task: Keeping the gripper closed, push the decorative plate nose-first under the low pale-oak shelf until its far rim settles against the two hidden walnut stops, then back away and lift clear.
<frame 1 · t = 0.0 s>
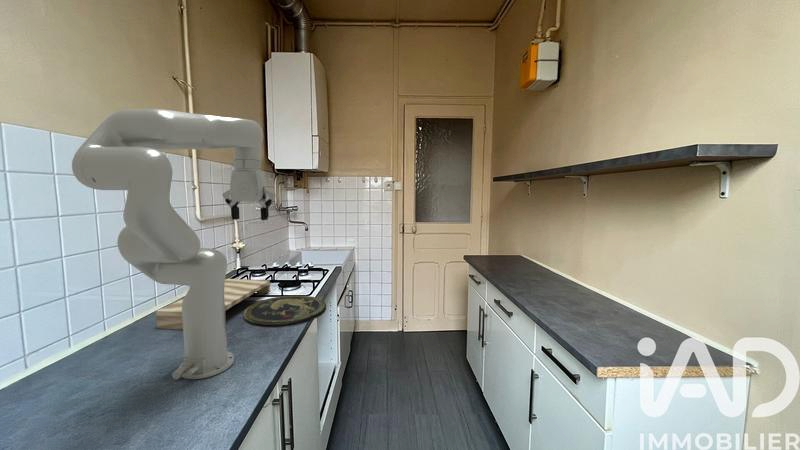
hand: (250, 219, 105), 37 cm above the countertop, tool pointing down, fingers open, 9 cm apart
decorative plate: (286, 312, 125), on the countertop
low shelf: (222, 308, 127), on the countertop
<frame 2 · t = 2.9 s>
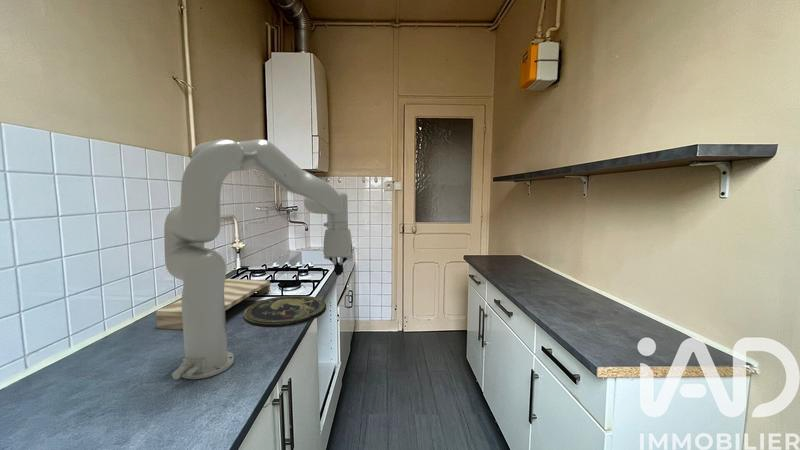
hand: (338, 274, 122), 15 cm above the countertop, tool pointing down, fingers closed
nothing on the countertop moved.
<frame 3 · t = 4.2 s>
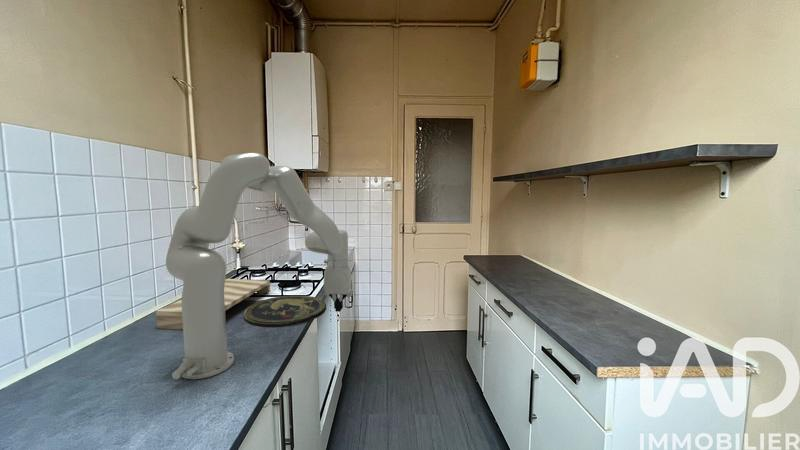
hand: (338, 310, 123), 1 cm above the countertop, tool pointing down, fingers closed
nothing on the countertop moved.
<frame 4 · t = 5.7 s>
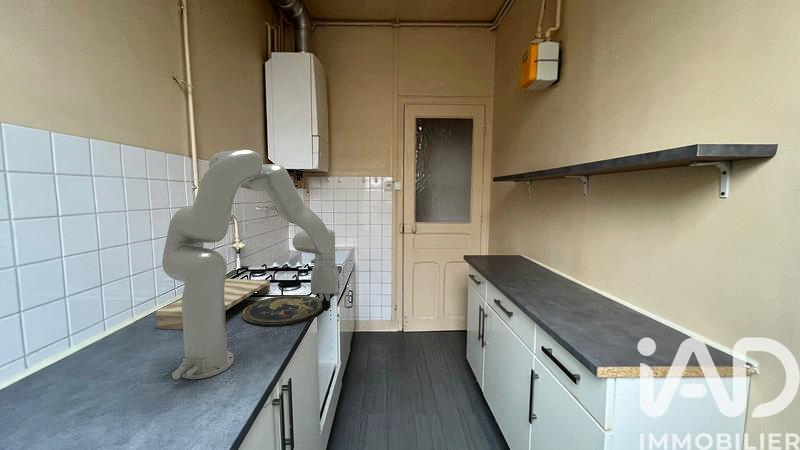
hand: (326, 309, 124), 1 cm above the countertop, tool pointing down, fingers closed
nothing on the countertop moved.
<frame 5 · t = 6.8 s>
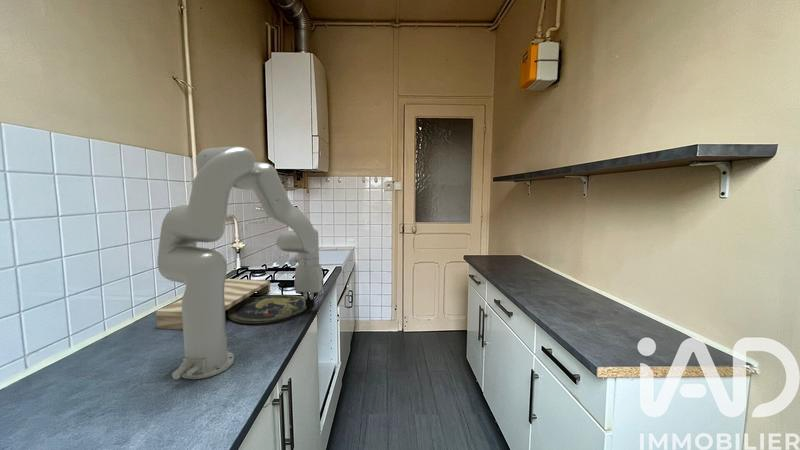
hand: (310, 308, 125), 1 cm above the countertop, tool pointing down, fingers closed
decorative plate: (270, 311, 126), on the countertop
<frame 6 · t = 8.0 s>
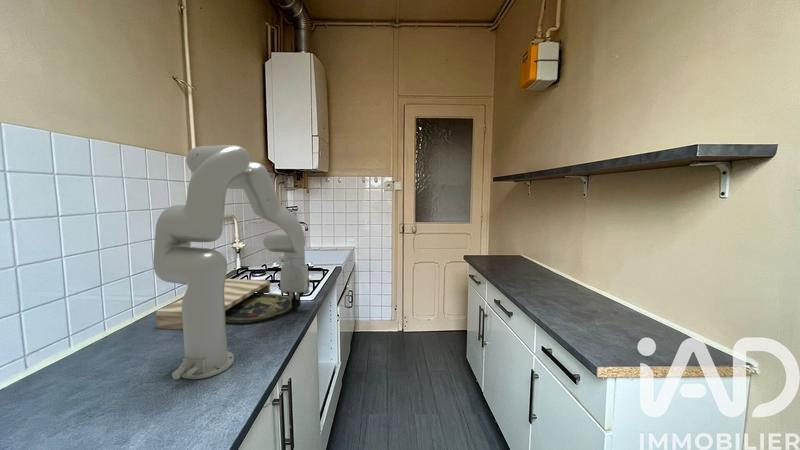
hand: (296, 308, 125), 1 cm above the countertop, tool pointing down, fingers closed
decorative plate: (257, 310, 127), on the countertop
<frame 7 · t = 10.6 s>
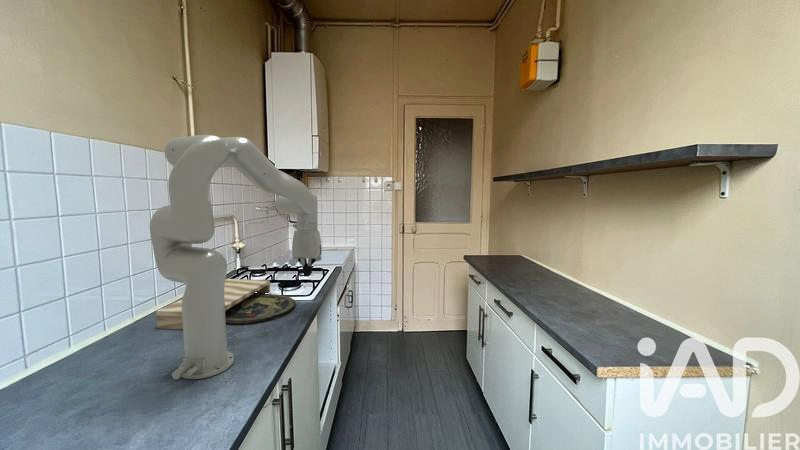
hand: (307, 275, 122), 14 cm above the countertop, tool pointing down, fingers closed
nothing on the countertop moved.
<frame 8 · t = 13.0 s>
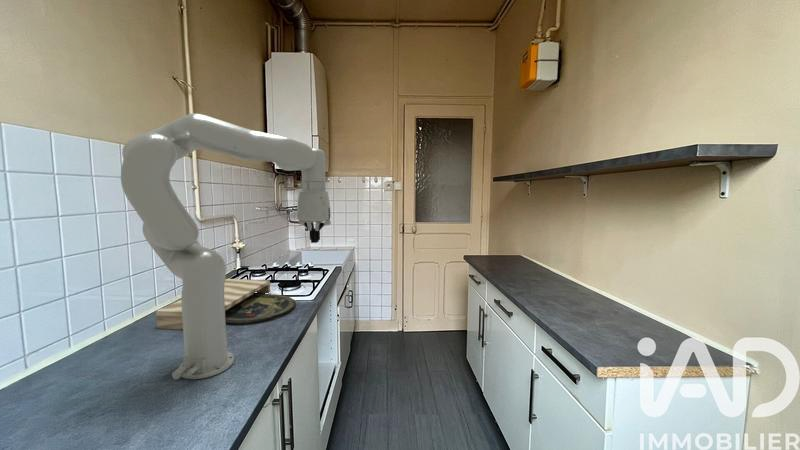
hand: (314, 242, 109), 29 cm above the countertop, tool pointing down, fingers closed
nothing on the countertop moved.
at the end: decorative plate 0.8 cm from the target spot, on the countertop; decorative plate moved 12.5 cm from its start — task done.
